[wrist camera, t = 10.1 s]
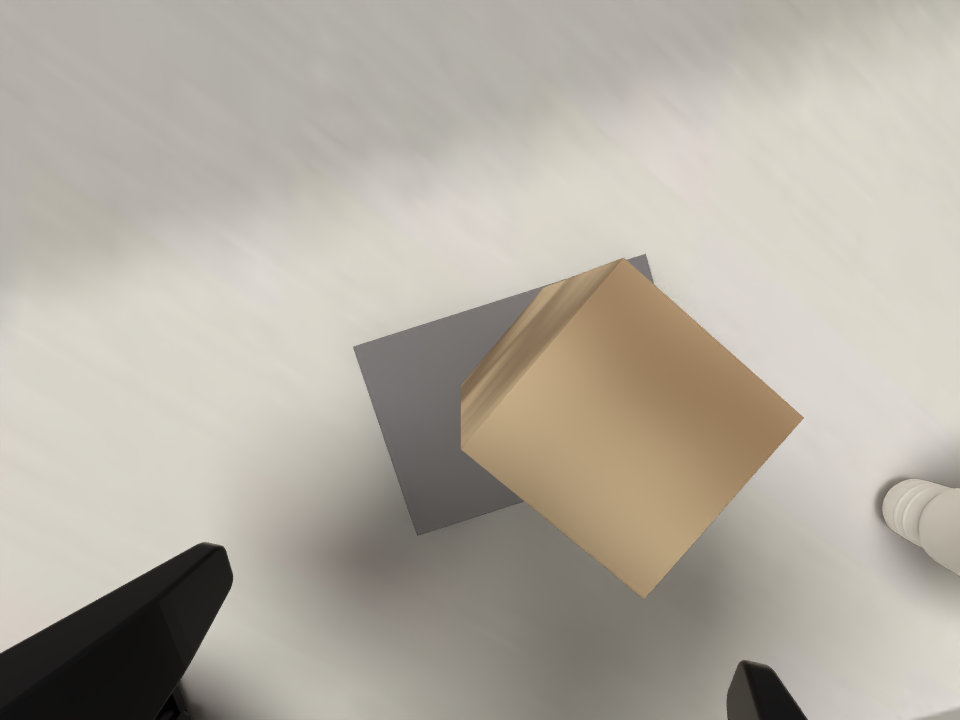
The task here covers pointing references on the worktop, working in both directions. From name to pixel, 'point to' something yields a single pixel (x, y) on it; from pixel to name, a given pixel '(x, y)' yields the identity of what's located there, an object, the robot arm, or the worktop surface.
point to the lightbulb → (927, 518)
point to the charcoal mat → (440, 408)
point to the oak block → (620, 420)
